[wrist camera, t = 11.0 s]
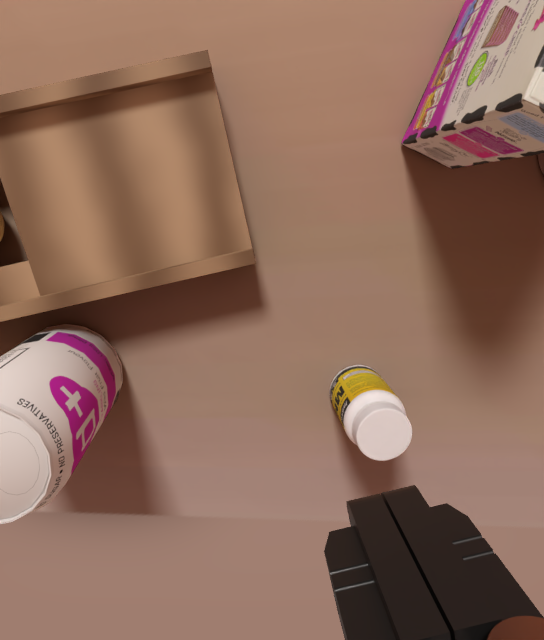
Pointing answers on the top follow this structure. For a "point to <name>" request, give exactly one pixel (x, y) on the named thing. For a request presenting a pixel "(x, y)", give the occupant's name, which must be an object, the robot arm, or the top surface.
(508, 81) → the candy bar box
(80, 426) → the supplement can
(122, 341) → the top surface
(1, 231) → the ball
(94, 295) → the wooden slide tray
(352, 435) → the supplement bottle
